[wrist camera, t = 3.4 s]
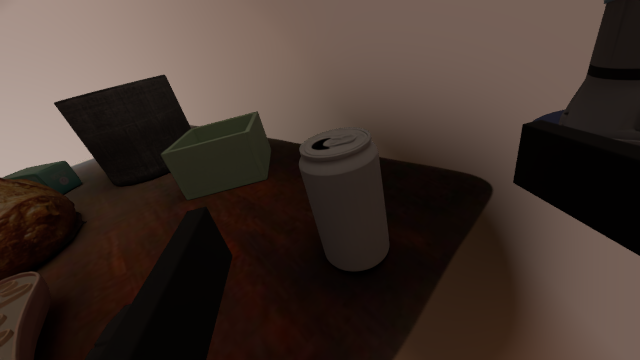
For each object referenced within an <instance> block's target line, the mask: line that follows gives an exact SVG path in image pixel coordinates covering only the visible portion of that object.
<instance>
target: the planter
mask: <svg viewBox="0 0 640 360" xmlns="http://www.w3.org/2000/svg"><path fill="white" fill-rule="evenodd" d="M54 104H55V106H56V107H57V108H58V110H59V111H60V112H61V114H62V115H63V116H64V118H65V119H66V120H67V122H68V123H69V124H70V126H71V127H72V129H73V130H74V131H75V133H76V134H77V135H78V137H79V138H80V139H81V141H82V142H83V143H84V145H85V146H86V147H87V149H88V150H89V152H90V153H91V154H92V155H93V157H94V158H95V160H96V161H97V162H98V164H99V165H100V166H101V168H102V169H103V170H104V172H105V173H106V174H107V176H108V177H109V178H110V180H111V181H112V183H113V184H114V185H119V186H121V185H130V184H135V183H139V182H143V181H147V180H150V179H153V178H155V177H158V176H161V175H163V174H166V173H168V172H170V170H169V168H168V167H167V165H166V163H165V162H164V160H163V158H162V156H161V154H162V153H163V152H164V151H165V150H166V149H168V148H169V147H170V146H171V145H172V144H174V143H175V142H176V141H177V140H178V139H179V138H181V137H182V136H183V135H184V134H185V133H186V132H188V131H189V130H190V129H191V127H190V125H189V123H188V121H187V119H186V117H185V115H184V113H183V111H182V109H181V107H180V105H179V103H178V101H177V99H176V96H175V94H174V92H173V90H172V88H171V86H170V84H169V82H168V80H167V78H166V76H165V75H160V76H156V77H152V78H147V79H143V80H139V81H135V82H131V83H127V84H123V85H119V86H115V87H111V88H107V89H103V90H99V91H95V92H91V93H87V94H84V95H80V96H76V97H72V98H69V99H65V100H61V101H58V102H55V103H54Z"/></svg>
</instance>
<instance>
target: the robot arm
mask: <svg viewBox="0 0 640 360" xmlns="http://www.w3.org/2000/svg"><path fill="white" fill-rule="evenodd" d="M606 3H607V4H606ZM604 4H606V7H605V11H604V14H603V18H602V22H601V25H600V29H599V32H598V36H597V40H596V43H595V47H594V50H593V54H592V57H591V61H590V66H589V69H588V73H587V76H586V79H585V81H584V82H583V84H582V85H581V87H580V88H579V89H578V91H577V92H576V94H575V95H574V97H573V98H572V100H571V101H570V103H569V105H568V106H567V108H566V109H565V110H564V112H563V113H562V115H561V117H560V119H559V124H556V123H552V122H548V121H545V120H538V121H534V122H530V123H526V124H523V127H522V133H521V138H520V144H519V151H518V157H517V162H516V168H515V175H514V181H513V183H515V184H516V185H518V186H520V187H522V188H523V189H525V190H527V191H529V192H530V193H532V194H534V195H535V196H538V197H539V198H541V199H542V200H544V201H546V202H548V203H549V204H551V205H553V206H554V207H556V208H558V209H560V210H561V211H563V212H565V213H567V214H568V215H570V216H572V217H573V218H575V219H577V220H579V221H580V222H582V223H584V224H586V225H587V226H589V227H591V228H592V229H594V230H596V231H598V232H600V233H601V234H603V235H605V236H606V237H608V238H610V239H611V240H613V241H615V242H617V243H619V244H620V245H622V246H624V247H625V248H627V249H629V250H631V251H633V252H634V253H636V254H638V255H639V256H640V0H604ZM231 260H232V254H231V252H230V250H229V248H228V247H227V245H226V243H225V241H224V239H223V237H222V235H221V234H220V232H219V230H218V228H217V226H216V224H215V222H214V220H213V219H212V217H211V215H210V213H209V211H208V209H207V207H203V208H199V209H195V210H191V211H187V213H186V215H185V216H184V218H183V220H182V221H181V223H180V225H179V226H178V228H177V230H176V231H175V233H174V235H173V236H172V238H171V239H170V241H169V243H168V244H167V246H166V248H165V249H164V251H163V253H162V254H161V256H160V258H159V259H158V261H157V263H156V264H155V266H154V268H153V269H152V271H151V273H150V274H149V276H148V277H147V279H146V281H145V282H144V284H143V286H142V287H141V289H140V291H139V292H138V294H137V296H136V297H135V299H134V301H133V302H132V304H129V305H126V306H124V307H123V309H122V310H121V311H120V312H119V313H118V314H117V315H116V316H115V317H114V318H113V319H112V320H111V321H110V322H109V323H108V324H107V326H106V327H105V329H104V331H103V332H102V334H101V335H100V337H99V338H98V340H97V341H96V343H95V344H94V345H95V347H94V348H93V349H91V351H90V352H89V354H88V355H87V357H86V358H85V360H206V358H207V354H208V350H209V346H210V342H211V338H212V334H213V331H214V327H215V323H216V319H217V315H218V311H219V307H220V303H221V299H222V295H223V291H224V287H225V283H226V280H227V276H228V272H229V268H230V264H231Z"/></svg>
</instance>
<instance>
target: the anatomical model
mask: <svg viewBox="0 0 640 360" xmlns="http://www.w3.org/2000/svg"><path fill="white" fill-rule="evenodd" d="M50 302H51V296H50V291H49V287H48V285H47V283H46V282H45V280H44V279H43V278H42V277H41V275H40V274H38V273H36V272H25V273H20V274H17V275H14V276H11V277H8V278H5V279H3V280H1V281H0V360H34V353H35V349H36V344H37V340H38V338H39V335H40V332H41V329H42V327H43V324H44V321H45V318H46V316H47V313H48V310H49V307H50Z"/></svg>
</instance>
